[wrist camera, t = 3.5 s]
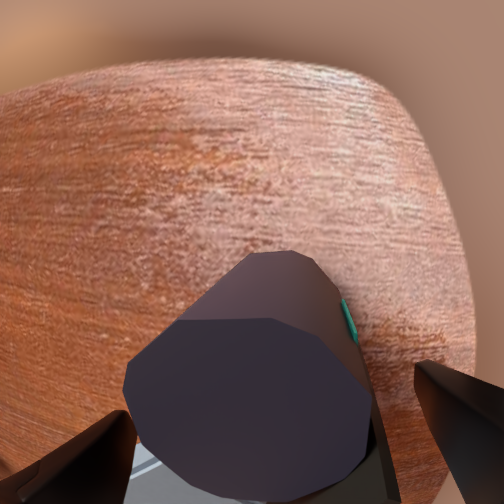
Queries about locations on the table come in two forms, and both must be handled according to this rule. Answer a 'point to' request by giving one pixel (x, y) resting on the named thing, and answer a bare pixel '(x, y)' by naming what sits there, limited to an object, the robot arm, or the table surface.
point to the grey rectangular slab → (165, 485)
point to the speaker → (265, 392)
